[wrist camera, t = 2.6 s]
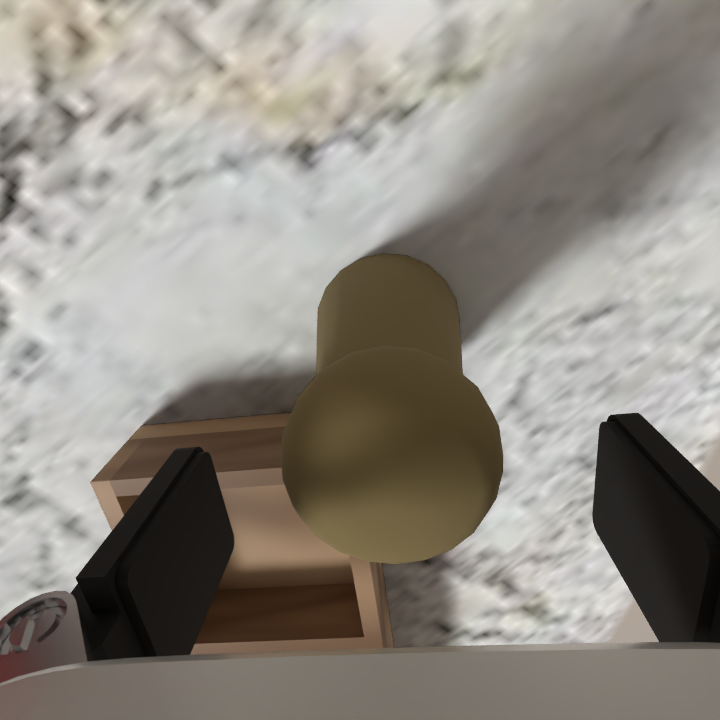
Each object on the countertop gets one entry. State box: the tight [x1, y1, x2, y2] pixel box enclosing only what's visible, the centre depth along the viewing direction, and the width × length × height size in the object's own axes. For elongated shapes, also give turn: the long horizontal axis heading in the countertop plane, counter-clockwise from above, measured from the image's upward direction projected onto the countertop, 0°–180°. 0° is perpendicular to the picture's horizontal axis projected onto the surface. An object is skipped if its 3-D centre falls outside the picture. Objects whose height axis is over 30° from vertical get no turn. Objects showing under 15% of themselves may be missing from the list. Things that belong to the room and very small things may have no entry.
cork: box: [282, 254, 503, 564], centre depth 14 cm, size 6×6×11 cm
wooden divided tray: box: [90, 413, 394, 655], centre depth 24 cm, size 20×11×4 cm, turn 7°
